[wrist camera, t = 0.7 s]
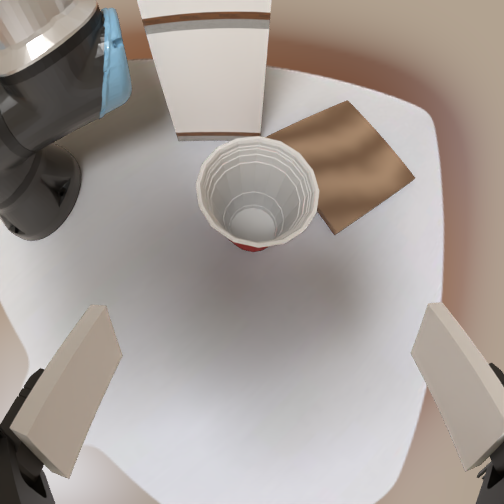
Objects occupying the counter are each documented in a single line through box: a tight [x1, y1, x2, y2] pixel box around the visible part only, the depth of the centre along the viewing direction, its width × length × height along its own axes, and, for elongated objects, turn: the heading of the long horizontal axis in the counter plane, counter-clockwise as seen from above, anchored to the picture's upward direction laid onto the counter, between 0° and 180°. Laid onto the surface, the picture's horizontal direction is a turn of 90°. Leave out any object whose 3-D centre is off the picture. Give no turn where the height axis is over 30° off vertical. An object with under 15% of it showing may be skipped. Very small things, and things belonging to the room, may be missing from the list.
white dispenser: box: [137, 0, 271, 141], centre depth 24 cm, size 11×11×35 cm
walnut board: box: [265, 100, 415, 235], centre depth 39 cm, size 16×16×1 cm
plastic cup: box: [196, 136, 319, 252], centre depth 31 cm, size 11×11×12 cm
